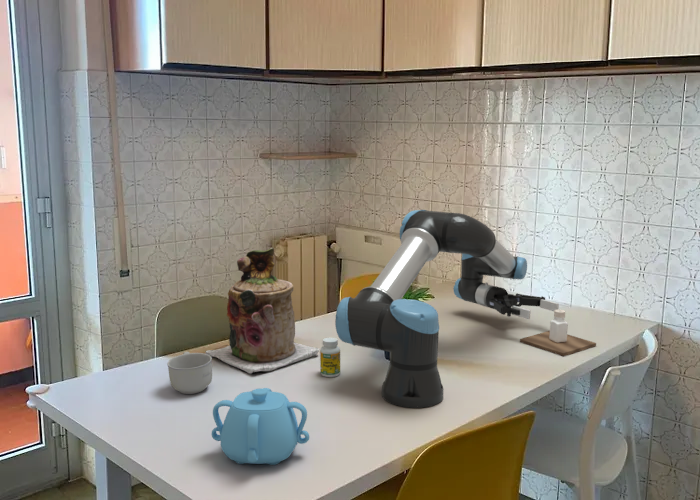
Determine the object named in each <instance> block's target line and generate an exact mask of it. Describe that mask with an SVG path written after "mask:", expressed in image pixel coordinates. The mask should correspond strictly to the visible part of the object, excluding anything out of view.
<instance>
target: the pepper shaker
mask: <svg viewBox="0 0 700 500" xmlns="http://www.w3.org/2000/svg"><path fill="white" fill-rule="evenodd" d="M553 312H554V314H553V316H554V317H553V318H554V319H551V321H550V322H549V331H550V335H549V338H550V340H552V341H554V342H556V343H559V342H566V341H567V334H568V326H569V324H568V322H567V321H566V320H565V318H566V311H565V310H564V309H558V310H555V311H553Z"/></svg>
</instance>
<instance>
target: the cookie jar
mask: <svg viewBox="0 0 700 500" xmlns="http://www.w3.org/2000/svg"><path fill="white" fill-rule="evenodd" d="M274 253H275V249H274V248H273V247H270V248H269V249H267V250H260V249H259V250H258V249H256V250H250V251H249V252H247V253H246V255H245V256H243V257H241V258H239V259H237V261H236V264H237V267H238V268H237V269H238V271H239V272H242V273H243V274H242V275H241V276H240V279H239V280H237V281H235V283H234V284H233V285H232V286H230V288H229V290H228V292H227V295H228V300H227V303H226V312H227V313H226V316H227V318H228V323H229V324H228V325H229V329H230V332H229V337H228V339H229V340H228V343H229V345H227V346H225V347H222V348H218V349H212V350H211V349H208V350H205V353H204V354H208V355H210V356H211V357H212V358H218V360H221V362H224V363H226V364H228V365H230V366H232V367H235V368H237V369H240V370H242V371H244V372H246V373H248V374H253V373H255V372H256V373H257V372H271V371H274V370H277V369H279V368H282V367H285V366H288V365H290V364H294V363H296V362H299V361H302V360H305V359H308V358H311V357H315V356H318V353H320V349H321V348H318V347H314V346H310V345H309V346H308V345H305V344H301V343H297V342H295V336H296V322H295V311H294V309H293V308H294V307H293V301H292V300H293V299H292V293H293V291H294V285H293V283H292V282H290V281H287V280H284V279H279V278H277V277H276V276H275V275H273V274H272V271H273V269H274V267H275V263H274V256H273V255H274Z"/></svg>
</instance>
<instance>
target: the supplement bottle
mask: <svg viewBox="0 0 700 500" xmlns="http://www.w3.org/2000/svg"><path fill="white" fill-rule="evenodd" d="M338 342H339V341H338V338H336V337H325V338H323V339H322V346H321V348H319V349H320V350H319V353H320V355H319V356H320V359H319V360H320V362H319V363H320V364H319V365H320V367H319V369H320V375H321V376H323V377H324V378H325V377H326V378H335V377H338V376H339V375H341V348H340V347H339V346H338V344H339V343H338Z"/></svg>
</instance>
